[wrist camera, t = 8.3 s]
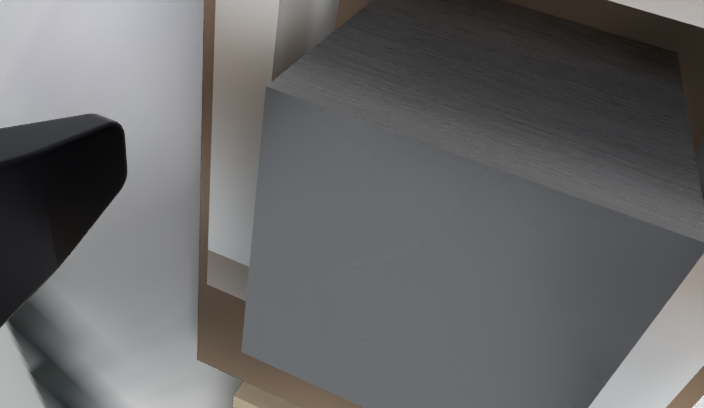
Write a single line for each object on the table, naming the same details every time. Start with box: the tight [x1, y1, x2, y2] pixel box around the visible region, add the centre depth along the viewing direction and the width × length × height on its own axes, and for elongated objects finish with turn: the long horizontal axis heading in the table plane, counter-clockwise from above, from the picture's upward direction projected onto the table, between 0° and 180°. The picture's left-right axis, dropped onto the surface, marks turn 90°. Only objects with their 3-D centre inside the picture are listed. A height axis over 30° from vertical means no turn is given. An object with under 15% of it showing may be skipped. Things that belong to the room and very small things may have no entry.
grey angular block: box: [241, 0, 704, 408], centre depth 9 cm, size 4×4×5 cm
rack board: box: [197, 0, 704, 408], centre depth 12 cm, size 18×12×4 cm, turn 170°
